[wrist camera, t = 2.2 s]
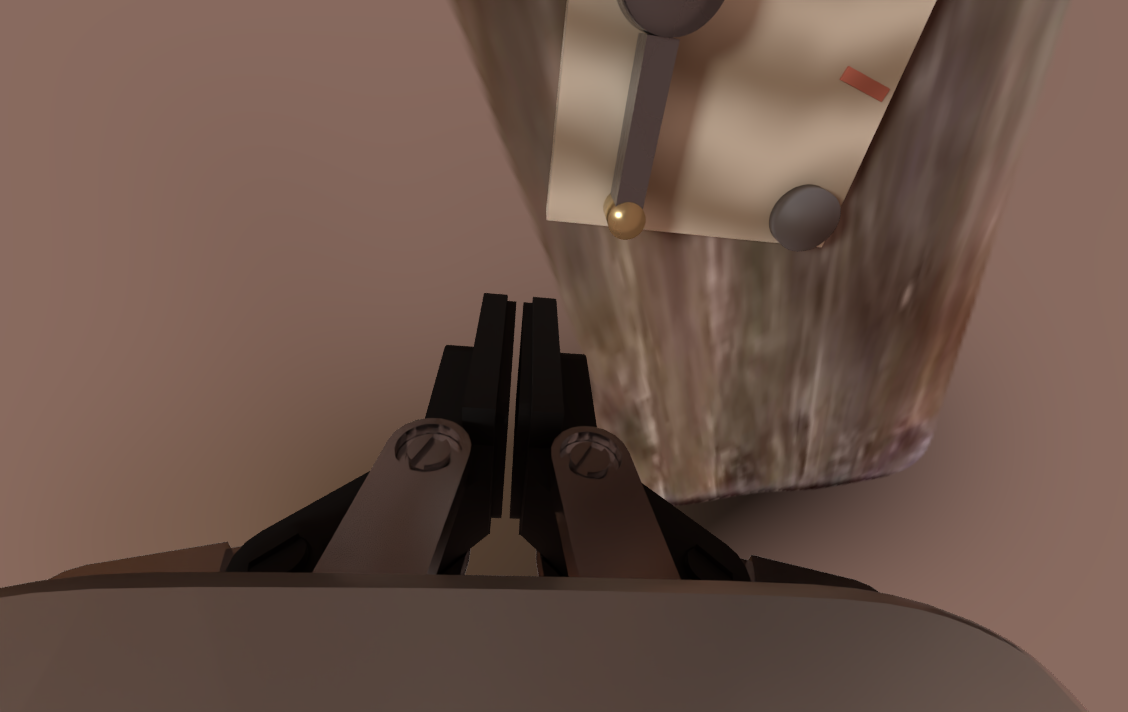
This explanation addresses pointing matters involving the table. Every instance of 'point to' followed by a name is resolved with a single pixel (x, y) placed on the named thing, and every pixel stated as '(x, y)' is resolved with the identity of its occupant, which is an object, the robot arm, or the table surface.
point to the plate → (734, 114)
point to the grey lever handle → (648, 101)
